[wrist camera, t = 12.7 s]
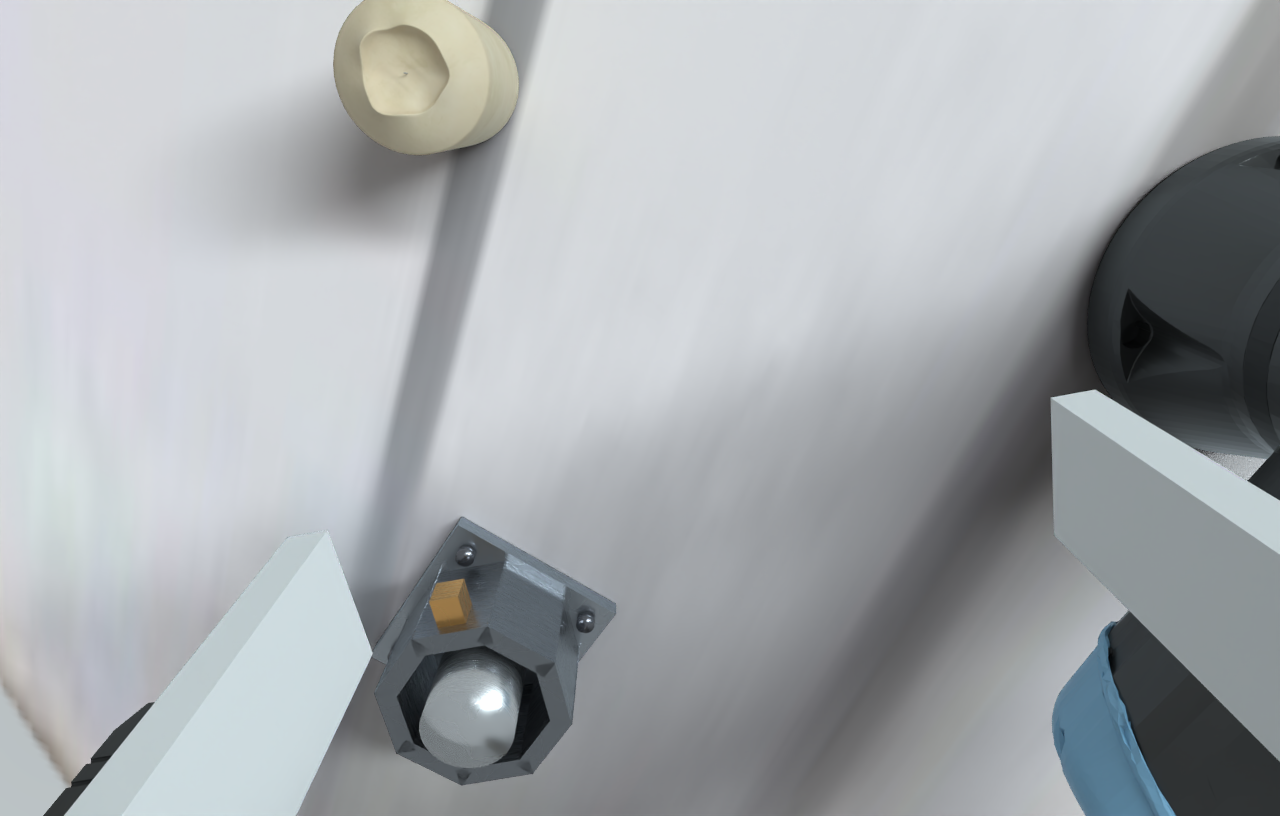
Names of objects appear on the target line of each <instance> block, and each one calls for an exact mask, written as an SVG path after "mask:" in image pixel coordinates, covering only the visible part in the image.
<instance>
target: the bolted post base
mask: <svg viewBox="0 0 1280 816" xmlns="http://www.w3.org/2000/svg"><path fill="white" fill-rule="evenodd" d="M501 561H507V562H509V563H511V564H513V565H514V566H516V567H518V568H520V569H521V570H523V571H525V572H527V573H529V574H530V575H532V576H534V577H536V578H537V579H539V580H541V581H543V582H545V583H546V584H548V585H550V586H552V587H553V588H555V589H557V590H559V591H561V592H562V593H564V594H565V598H566V602H567V606H568V610H569V614H570V617H571V621H572V625H573V629H574V633H575V636H576V640H577V644H578V648H579V657H578V662H579V661H580V660H581V658H582V657H583V656H584V654H585V653H586V652H587V651H588V649H589V648H590V647H591V645H592V644H593V643H594V641H595V640H596V639H597V638H598V636H599V635H600V634H601V632H602V631H603V630H604V629H605V627H606V626H607V625H608V623H609V622H610V621H611V619H612V618H613V617H614V616H615V614H616V604H615V603H614V602H612V601H610V600H608V599H607V598H605V597H603V596H601V595H600V594H598V593H596V592H594V591H592V590H591V589H589V588H587V587H585V586H584V585H582V584H580V583H578V582H577V581H575V580H573V579H571V578H570V577H568V576H566V575H564V574H563V573H561V572H559V571H557V570H555V569H554V568H552V567H550V566H548V565H547V564H545V563H543V562H541V561H540V560H538V559H536V558H534V557H533V556H531V555H529V554H527V553H526V552H524V551H522V550H520V549H518V548H517V547H515V546H513V545H511V544H510V543H508V542H506V541H504V540H503V539H501V538H499V537H497V536H496V535H494V534H492V533H490V532H489V531H487V530H485V529H483V528H481V527H480V526H478V525H476V524H474V523H473V522H471V521H469V520H467V519H466V518H464V517H461V519H460V520H459V522H458V523H457V525H456V526H455V528H454V529H453V531H452V532H451V534H450V535H449V537H448V538H447V540H446V541H445V543H444V544H443V546H442V547H441V549H440V550H439V552H438V553H437V555H436V556H435V558H434V559H433V561H432V562H431V563H430V565H429V566H428V568H427V569H426V571H425V572H424V574H423V575H422V577H421V578H420V580H419V581H418V583H417V584H416V586H415V587H414V589H413V590H412V592H411V593H410V595H409V596H408V598H407V599H406V601H405V602H404V604H403V605H402V607H401V608H400V610H399V611H398V613H397V614H396V616H395V617H394V619H393V620H392V622H391V623H390V625H389V626H388V628H387V629H386V631H385V632H384V634H383V635H382V637H381V638H380V640H379V641H378V643H377V644H376V646H375V648H374V650H373V654H372V656H371V657H372V658H374V659H376V660H378V661H380V662H382V663H384V664H386V665H387V662H388V660H389V658H390V656H391V653H392V651H393V649H394V646H395V644H396V642H397V640H398V637H399V635H400V633H401V631H402V628H403V626H404V624H405V621H406V620H407V619H408V618H409V616H410V615H411V613H412V612H413V610H414V609H415V607H416V606H417V604H418V603H419V601H420V600H421V598H422V597H423V595H424V594H425V592H426V591H427V589H428V588H429V586H430V585H431V584H432V582H433V581H434V579H435V578H436V576H437V575H438V573H439V572H445V571H451V570H456V569H462V568H468V567H473V566H479V565H484V564H490V563H496V562H501ZM436 657H437V660H438V663H439V666H438V669H437V672H436V675H435V678H434V681H433V684H432V687H431V690H430V692H429V695H428V698H427V701H426V704H425V707H424V710H423V713H422V716H421V718H420V723H419V732H420V737H421V740H422V742H423V744H424V745H425V747H426V748H427V750H428V751H429V752H430V753H431V754H432V755H433V756H435V757H436V758H437V759H439V760H440V761H442V762H444V763H446V764H449V765H452V766H455V767H460V768H479V767H484V766H487V765H490V764H492V763H494V762H496V761H498V760H499V759H501V758H502V757H503V756H504V755H505V754H506V753H507V752H508V750H509V749H510V747H511V745H512V743H513V740H514V735H515V730H516V724H517V719H518V714H519V708H520V703H521V697H522V692H523V687H524V683H529V682H533V681H534V680H535V679H536V677H537V673H535V672H533V671H531V670H530V669H528V668H526V667H524V666H522V665H520V664H518V663H516V662H515V661H513V660H511V659H509V658H507V657H505V656H503V655H502V654H500V653H498V652H496V651H494V650H492V649H490V648H488V647H487V646H485V645H484V646H478V647H472V648H466V649H461V650H455V651H449V652H443V653H437V654H436Z"/></svg>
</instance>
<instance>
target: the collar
mask: <svg viewBox="0 0 1280 816" xmlns="http://www.w3.org/2000/svg"><path fill="white" fill-rule="evenodd" d="M484 645H485V646H487V647H488V648H490V649H492V650H494V651H496V652H498V653H500V654H502V655H503V656H505V657H507V658H509V659H511V660H513V661H515V662H516V663H518V664H520V665H522V666H524V667H526V668H528V669H530V670H531V671H533V672H535V673H537V677H536V679H535V680H534V681H533V682H529V683H524V687H523V692H522V697H521V703H520V708H519V714H518V719H517V724H516V730H515V735H514V740H513V743H512V745H511V747H510V749H509V750H508V752H507V753H506V754H505V755H504V756H503V757H502V758H501V759H499V760H498V761H496V762H494V763H492V764H490V765H487V766H484V767H479V768H460V767H455V766H452V765H449V764H446V763H444V762H442V761H440V760H439V759H437V758H436V757H435V756H433V755H432V754H431V753H430V752H429V751H428V750H427V748H426V747H425V745H424V744H423V742H422V740H421V737H420V732H419V723H420V718H421V716H422V713H423V710H424V707H425V704H426V701H427V698H428V695H429V692H430V690H431V687H432V684H433V681H434V678H435V675H436V672H437V669H438V666H439V663H438V660H437V657H436V654H437V653H443V652H449V651H455V650H461V649H466V648H472V647H478V646H484ZM578 657H579V648H578V644H577V640H576V636H575V633H574V629H573V625H572V621H571V617H570V614H569V610H568V606H567V602H566V598H565V594H564V593H562V592H561V591H559V590H557V589H555V588H553V587H552V586H550V585H548V584H546V583H545V582H543V581H541V580H539V579H537V578H536V577H534V576H532V575H530V574H529V573H527V572H525V571H523V570H521V569H520V568H518V567H516V566H514V565H513V564H511V563H509V562H507V561H501V562H496V563H490V564H484V565H479V566H473V567H468V568H462V569H456V570H451V571H445V572H439V573H438V575H437V576H436V578H435V579H434V581H433V582H432V584H431V585H430V586H429V588H428V589H427V591H426V592H425V594H424V595H423V597H422V598H421V600H420V601H419V603H418V604H417V606H416V607H415V609H414V610H413V612H412V613H411V615H410V616H409V618H408V619H407V620H406V621H405V624H404V626H403V628H402V631H401V633H400V635H399V637H398V640H397V642H396V644H395V646H394V649H393V651H392V653H391V656H390V658H389V660H388V662H387V665H386V667H385V669H384V671H383V674H382V676H381V678H380V681H379V683H378V685H377V687H376V690H375V692H374V694H375V697H376V700H377V702H378V705H379V708H380V710H381V713H382V716H383V718H384V721H385V724H386V726H387V729H388V732H389V734H390V737H391V740H392V742H393V745H394V748H395V750H396V753H397V754H399V755H401V756H403V757H405V758H407V759H409V760H411V761H413V762H415V763H417V764H419V765H421V766H423V767H425V768H427V769H429V770H431V771H433V772H435V773H437V774H439V775H441V776H443V777H446V778H448V779H450V780H452V781H454V782H456V783H458V784H460V785H466V784H472V783H479V782H485V781H491V780H497V779H503V778H509V777H515V776H522V775H528V774H533V773H534V771H535V770H536V769H537V767H538V766H539V765H540V764H541V762H542V761H543V760H544V759H545V757H546V756H547V755H548V754H549V752H550V751H551V750H552V749H553V747H554V746H555V745H556V744H557V742H558V741H559V740H560V739H561V737H562V736H563V735H564V733H565V732H566V731H567V730H568V728H569V727H570V726H571V725H572V721H573V710H574V699H575V689H576V678H577V668H578Z"/></svg>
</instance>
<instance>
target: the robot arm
mask: <svg viewBox="0 0 1280 816" xmlns="http://www.w3.org/2000/svg"><path fill="white" fill-rule="evenodd" d="M1088 341H1089V347H1090V353H1091V356H1092V360H1093V363H1094V366H1095V369H1096V371H1097V374H1098V376H1099V378H1100V380H1101V382H1102V383H1103V385H1104V387H1105V389H1106V390H1107V391H1108V393H1109V394H1110V396H1111V397H1112V398H1113V399H1114V400H1115V401H1116V402H1115V401H1113V400H1112V399H1110V398H1108V397H1107V396H1105V395H1103V394H1102V393H1100V392H1098V391H1097V390H1090V391H1084V392H1079V393H1074V394H1068V395H1063V396H1057V397H1052V398H1051V433H1052V473H1053V514H1054V536H1055V537H1056V538H1057V539H1058V540H1059V541H1060V542H1061V543H1062V544H1063V545H1064V546H1065V547H1066V548H1067V549H1068V550H1069V551H1070V552H1071V553H1072V554H1073V555H1074V556H1075V557H1076V558H1077V559H1078V560H1079V561H1080V562H1081V563H1082V564H1083V565H1084V566H1085V567H1086V568H1087V569H1088V570H1089V571H1090V572H1091V573H1092V574H1093V575H1094V576H1095V577H1096V578H1097V579H1098V580H1099V581H1100V582H1101V583H1102V584H1103V585H1104V586H1105V587H1106V588H1107V589H1108V590H1109V591H1110V592H1111V593H1112V594H1113V595H1114V596H1115V597H1116V598H1117V599H1118V600H1119V601H1120V602H1121V603H1122V604H1123V605H1124V606H1125V607H1126V608H1127V609H1128V610H1129V611H1128V612H1127V613H1126V614H1125V615H1124V616H1123V617H1122V618H1121V619H1120V620H1119V621H1118V622H1110V623H1109V624H1108V625H1107V626H1106V627H1105V628H1104V629H1103V630H1102V631H1101V633H1100V635H1099V638H1098V646H1097V647H1096V648H1095V649H1094V651H1093V652H1092V653H1091V654H1090V655H1089V657H1088V658H1087V659H1086V660H1085V662H1084V663H1083V664H1082V665H1081V666H1080V668H1079V669H1078V670H1077V671H1076V673H1075V674H1074V675H1073V676H1072V677H1071V679H1070V680H1069V681H1068V682H1067V684H1066V685H1065V686H1064V687H1063V689H1062V690H1061V692H1060V693H1059V695H1058V697H1057V700H1056V702H1055V706H1054V710H1053V716H1052V732H1053V737H1054V745H1055V748H1056V750H1057V753H1058V755H1059V758H1060V760H1061V765H1062V768H1063V773H1064V775H1065V777H1066V779H1067V781H1068V784H1069V786H1070V788H1071V790H1072V792H1073V794H1074V796H1075V798H1076V800H1077V801H1078V803H1079V805H1080V807H1081V809H1082V810H1083V812H1084V814H1085V815H1086V816H1280V136H1275V137H1263V138H1256V139H1251V140H1246V141H1242V142H1238V143H1234V144H1231V145H1228V146H1225V147H1222V148H1220V149H1217V150H1215V151H1212V152H1210V153H1208V154H1206V155H1204V156H1202V157H1200V158H1198V159H1196V160H1194V161H1192V162H1191V163H1189V164H1187V165H1185V166H1184V167H1182V168H1181V169H1179V170H1178V171H1176V172H1175V173H1173V174H1172V175H1171V176H1169V177H1168V178H1167V179H1165V180H1164V181H1163V182H1162V183H1160V184H1159V185H1158V186H1157V187H1156V188H1155V189H1153V190H1152V191H1151V192H1150V193H1149V194H1148V195H1147V196H1146V197H1145V198H1144V199H1143V200H1142V201H1141V202H1140V203H1139V204H1138V206H1137V207H1136V208H1135V209H1134V210H1133V211H1132V212H1131V214H1130V215H1129V216H1128V217H1127V219H1126V220H1125V221H1124V223H1123V224H1122V225H1121V227H1120V228H1119V230H1118V231H1117V233H1116V234H1115V236H1114V238H1113V239H1112V241H1111V243H1110V245H1109V246H1108V248H1107V250H1106V252H1105V254H1104V256H1103V259H1102V261H1101V263H1100V266H1099V268H1098V271H1097V274H1096V276H1095V280H1094V283H1093V287H1092V291H1091V295H1090V301H1089V308H1088ZM1191 447H1193V448H1196V449H1200V450H1204V451H1210V452H1216V453H1224V454H1232V455H1239V456H1247V457H1255V458H1263V459H1267V460H1266V461H1265V462H1264V463H1263V465H1262V466H1261V467H1260V468H1259V469H1258V470H1257V471H1256V472H1255V473H1254V475H1253V476H1252V477H1251V478H1250V479H1249V480H1247V481H1246V480H1245V479H1243V478H1241V477H1240V476H1238V475H1236V474H1235V473H1233V472H1231V471H1230V470H1228V469H1226V468H1225V467H1223V466H1221V465H1220V464H1218V463H1216V462H1215V461H1213V460H1211V459H1210V458H1208V457H1206V456H1205V455H1203V454H1201V453H1200V452H1198V451H1196V450H1195V449H1193V448H1191ZM372 654H373V652H372V650H371V647H370V644H369V641H368V639H367V636H366V633H365V631H364V628H363V625H362V622H361V620H360V617H359V614H358V612H357V609H356V606H355V603H354V601H353V598H352V595H351V592H350V590H349V587H348V584H347V582H346V579H345V576H344V573H343V571H342V568H341V565H340V563H339V560H338V557H337V554H336V552H335V549H334V546H333V544H332V541H331V538H330V535H329V533H328V530H325V531H319V532H314V533H308V534H303V535H297V536H292V537H287V539H286V540H285V541H284V542H283V543H282V545H281V546H280V547H279V548H278V550H277V551H276V552H275V553H274V555H273V556H272V557H271V558H270V560H269V561H268V562H267V563H266V565H265V566H264V567H263V568H262V570H261V571H260V572H259V573H258V575H257V576H256V577H255V578H254V580H253V581H252V582H251V583H250V585H249V586H248V587H247V588H246V590H245V591H244V592H243V593H242V595H241V596H240V597H239V598H238V600H237V601H236V602H235V603H234V605H233V606H232V607H231V608H230V610H229V611H228V612H227V613H226V614H225V616H224V617H223V618H222V619H221V621H220V622H219V623H218V624H217V626H216V627H215V628H214V629H213V631H212V632H211V633H210V634H209V636H208V637H207V638H206V639H205V641H204V642H203V643H202V644H201V646H200V647H199V648H198V649H197V651H196V652H195V653H194V654H193V656H192V657H191V658H190V659H189V661H188V662H187V663H186V664H185V666H184V667H183V668H182V669H181V671H180V672H179V673H178V674H177V676H176V677H175V678H174V679H173V681H172V682H171V683H170V684H169V685H168V687H167V688H166V689H165V690H164V692H163V693H162V694H161V695H160V697H159V698H158V699H157V700H156V702H153V703H148V704H147V705H145V706H144V707H143V708H142V709H140V710H139V711H138V712H137V713H135V714H134V715H133V716H132V717H130V718H129V719H128V720H127V721H125V722H124V723H123V724H122V725H120V726H119V727H118V728H117V729H115V730H114V731H113V733H112V734H111V735H110V736H109V737H108V739H107V740H106V741H105V742H104V743H103V745H102V746H101V747H100V748H99V749H98V751H97V752H96V753H95V754H94V755H93V757H92V758H91V763H90V764H86V765H85V766H84V767H83V769H82V770H81V771H80V772H79V773H78V775H77V776H76V777H75V778H74V779H73V781H72V782H71V783H72V785H71V788H66V789H65V790H64V791H63V793H62V794H61V795H60V796H59V797H58V799H57V800H56V801H55V802H54V803H53V805H52V806H51V807H50V808H49V809H48V811H47V812H46V813H45V814H44V815H43V816H296V815H297V813H298V811H299V808H300V806H301V804H302V802H303V800H304V798H305V796H306V794H307V792H308V789H309V787H310V785H311V783H312V781H313V779H314V777H315V775H316V773H317V770H318V768H319V766H320V764H321V762H322V760H323V758H324V756H325V754H326V751H327V749H328V747H329V745H330V743H331V741H332V739H333V737H334V735H335V732H336V730H337V728H338V726H339V724H340V722H341V720H342V718H343V716H344V713H345V711H346V709H347V707H348V705H349V703H350V701H351V699H352V697H353V694H354V692H355V690H356V688H357V686H358V684H359V682H360V680H361V678H362V675H363V673H364V671H365V669H366V667H367V665H368V663H369V661H370V659H371V656H372Z"/></svg>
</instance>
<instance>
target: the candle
mask: <svg viewBox="0 0 1280 816" xmlns="http://www.w3.org/2000/svg"><path fill="white" fill-rule="evenodd" d="M333 67H334V78H335V83H336V87H337V90H338V94H339V97H340V99H341V101H342V103H343V106H344V108H345V109H346V111H347V113H348V114H349V116H350V117H351V119H352V120H353V121H354V123H355V124H356V125H357V126H358V127H359V128H360V129H361V130H362V131H363V132H364V133H365V134H366V135H367V136H368V137H370V138H371V139H372V140H374V141H375V142H377V143H378V144H380V145H381V146H384V147H386V148H388V149H390V150H393V151H396V152H399V153H403V154H408V155H430V154H435V153H440V152H444V151H449V150H453V149H458V148H462V147H467V146H471V145H475V144H478V143H481V142H483V141H486V140H488V139H489V138H491V137H493V136H494V135H495V134H497V133H498V132H499V131H500V130H501V129H502V128H503V127H504V126H505V125H506V123H507V122H508V121H509V119H510V117H511V115H512V113H513V111H514V108H515V106H516V102H517V98H518V91H519V79H518V72H517V68H516V64H515V61H514V58H513V56H512V54H511V52H510V50H509V48H508V46H507V45H506V43H505V42H504V41H503V39H502V38H501V37H500V36H499V35H498V34H497V33H496V32H495V31H494V30H493V29H492V28H491V27H489V26H488V25H486V24H485V23H483V22H482V21H481V20H479V19H477V18H476V17H474V16H472V15H471V14H469V13H467V12H465V11H464V10H462V9H460V8H459V7H457V6H455V5H454V4H452V3H450V2H449V1H447V0H364V1H363V2H361V3H360V4H359V5H358V6H357V7H356V8H355V9H354V10H353V11H352V12H351V13H350V14H349V16H348V17H347V19H346V20H345V22H344V23H343V25H342V28H341V30H340V32H339V34H338V38H337V41H336V45H335V50H334V61H333Z"/></svg>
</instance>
